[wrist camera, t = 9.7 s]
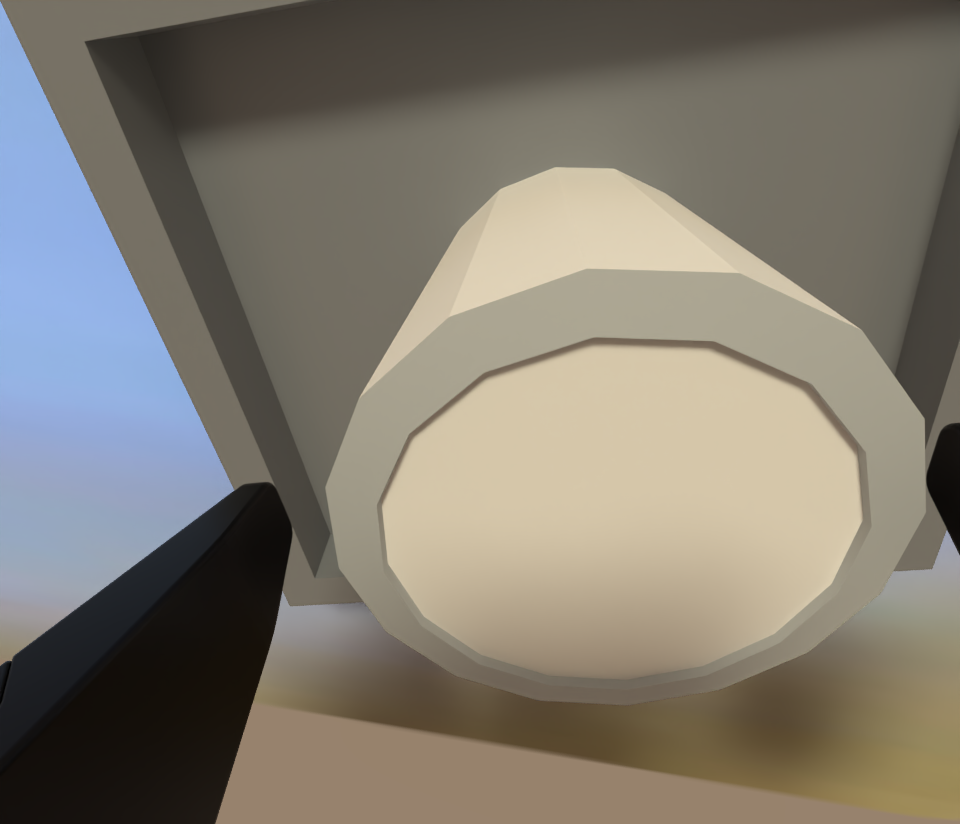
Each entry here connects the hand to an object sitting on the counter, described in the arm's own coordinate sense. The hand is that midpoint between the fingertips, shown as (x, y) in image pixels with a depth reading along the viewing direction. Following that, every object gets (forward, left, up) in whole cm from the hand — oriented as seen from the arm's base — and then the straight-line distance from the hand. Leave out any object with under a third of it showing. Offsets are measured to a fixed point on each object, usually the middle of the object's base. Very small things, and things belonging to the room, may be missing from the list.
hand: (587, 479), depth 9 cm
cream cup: (0, 0, -6) cm, 6 cm away
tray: (0, 0, -6) cm, 6 cm away
